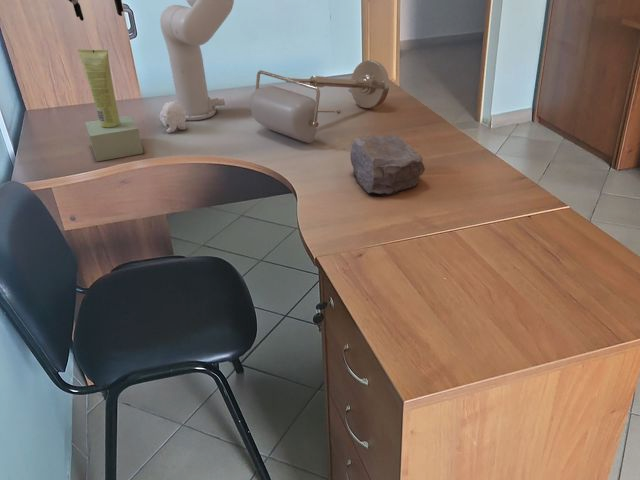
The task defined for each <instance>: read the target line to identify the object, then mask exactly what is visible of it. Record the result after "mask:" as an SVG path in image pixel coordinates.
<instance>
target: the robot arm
mask: <svg viewBox="0 0 640 480" xmlns="http://www.w3.org/2000/svg"><path fill="white" fill-rule="evenodd" d="M113 1H114V5H115V10H116V13H117V15H118V16H119V17H123V12H124V7H123V1H122V0H113ZM68 2H70V3H71V4H72V5H73V10H74V13H75V16H76V17H77V18H79V20H80V21H82V22H83V21H84V19H85V18H84V14H83V12H82V7H81V4H80V2H79V0H68ZM186 2H187V4H188V5H189V7H188V6H185V5H180V4H172V5H169V6H167V7H165V9H163V11H162V12H161V15H160V19H159V24H160V30H161V33H162V36H163V40H164V43H165V45H166V48H167V53H168V57H169V63H170V70H171V74H172V81H173V85H174V92H175V96H176V103H178V104H180V105H181V106H182V108H183V110H184V111H185V112H186V121H199V120H200V121H201V120H206V119H208V118H212V117H213V116H214V115H216V112H217V111H216V107H218V106H219V107H220V106H225V105H226V101H225V99H224V98H220V99H219V98H218V97H216V98H210V96H209V91H208V85H207V80H206V79H207V78H206V72H205V66H204V60H203V59H204V58H203V52H202V49H201V46H203V45H205V44H206V43H208V42H209V41H210V40H211V39H212V38H213V36H214V35H215V34H216V32H217V31H218V30H219V29H220V28H221V26H222V25H223V23H224V22H225V21H226V19H227V18H228V17H229V15H230V14H231V12H232V10H233V7H234V3H235V0H186Z"/></svg>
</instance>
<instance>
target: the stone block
mask: <svg viewBox="0 0 640 480" xmlns="http://www.w3.org/2000/svg"><path fill="white" fill-rule="evenodd" d="M349 155H350V163H351V166H352V168H353V170H352V174H353V177H354V178H355V181H356V182H357V184H358V185H359V186H360V187H361V188H362V190H363V191H364V192H365V193H366V194H367V195H368V196H369V197H371V196H372V197H383V196H391V195H393V194H397V193H398V192H401V191H404V190H408V189H413V188H415V187H416V186H417V183H418V182H419V180H420V179H421V175H423V174H424V172H425V170H426V168H425V167H426V166H425V165H424V162H423V157H422V155H421V154H420V153H418V152H417V151H416V150H414V148H413V147H412V146H411V145H409V143H407V142H406V141H405V140H404V139H403V138H401V137H400V136H399V135H394V134H393V135H377V136H376V135H368V136H358V137H357V138H355V139H354V140H352V142H351V146H350V154H349Z"/></svg>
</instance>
